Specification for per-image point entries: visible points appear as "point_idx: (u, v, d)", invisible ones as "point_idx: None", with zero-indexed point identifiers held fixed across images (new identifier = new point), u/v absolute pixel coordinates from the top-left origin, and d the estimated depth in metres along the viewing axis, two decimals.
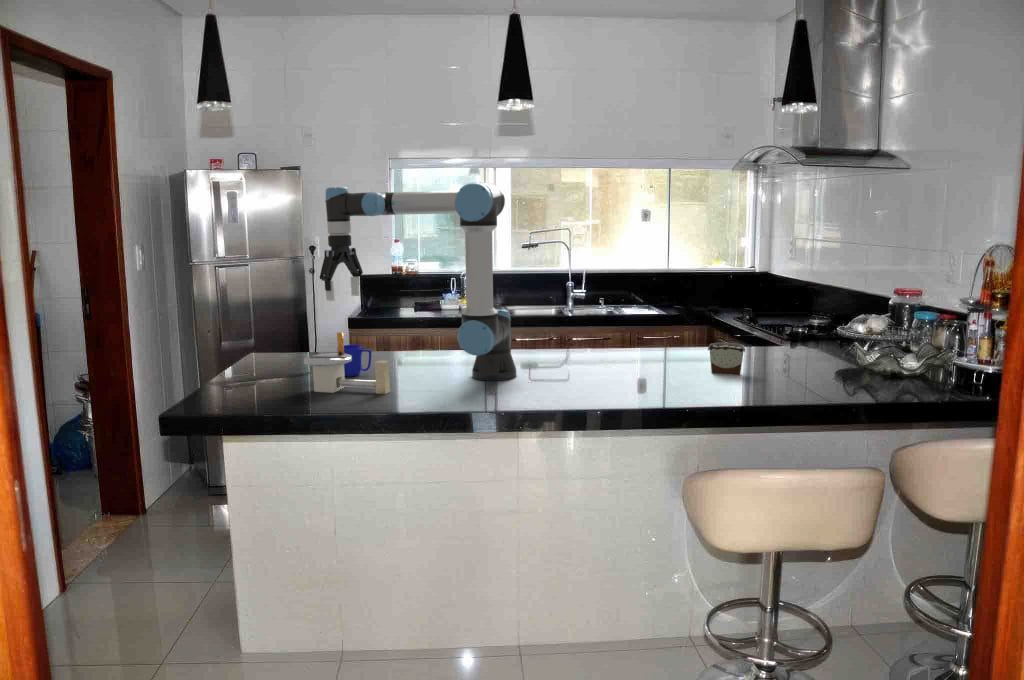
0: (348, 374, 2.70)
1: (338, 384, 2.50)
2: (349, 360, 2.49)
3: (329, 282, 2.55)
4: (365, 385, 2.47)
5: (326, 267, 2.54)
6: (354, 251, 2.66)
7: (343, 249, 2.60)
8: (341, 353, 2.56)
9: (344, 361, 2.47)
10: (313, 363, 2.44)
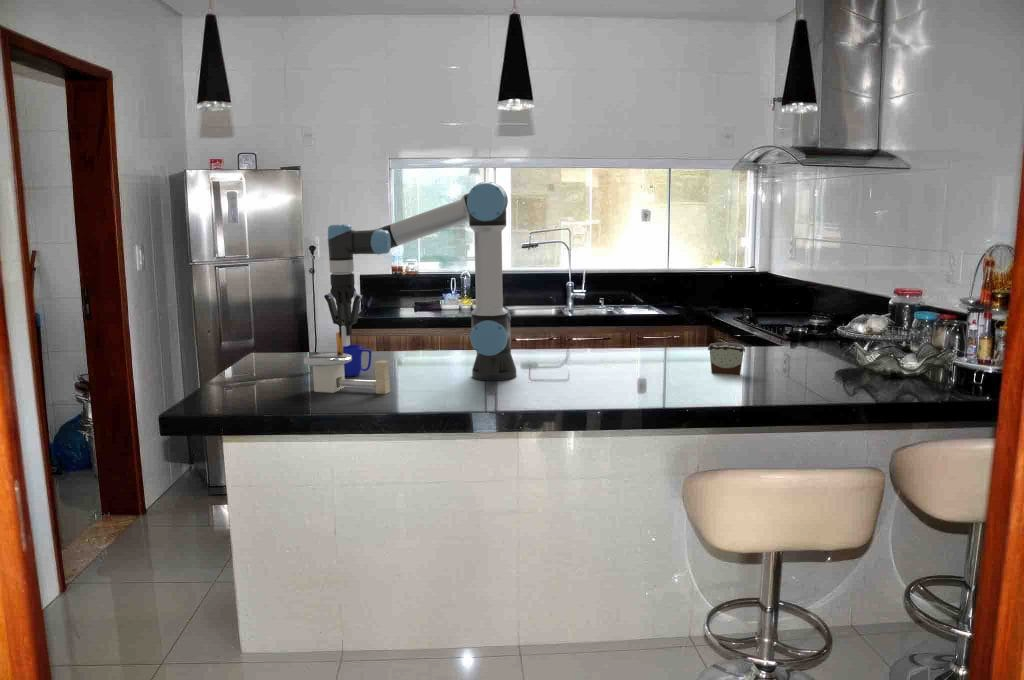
0: (348, 374, 2.70)
1: (338, 384, 2.50)
2: (349, 360, 2.50)
3: (340, 327, 2.53)
4: (365, 385, 2.47)
5: None
6: (356, 298, 2.49)
7: (342, 289, 2.50)
8: (340, 353, 2.56)
9: (345, 361, 2.47)
10: (314, 363, 2.44)
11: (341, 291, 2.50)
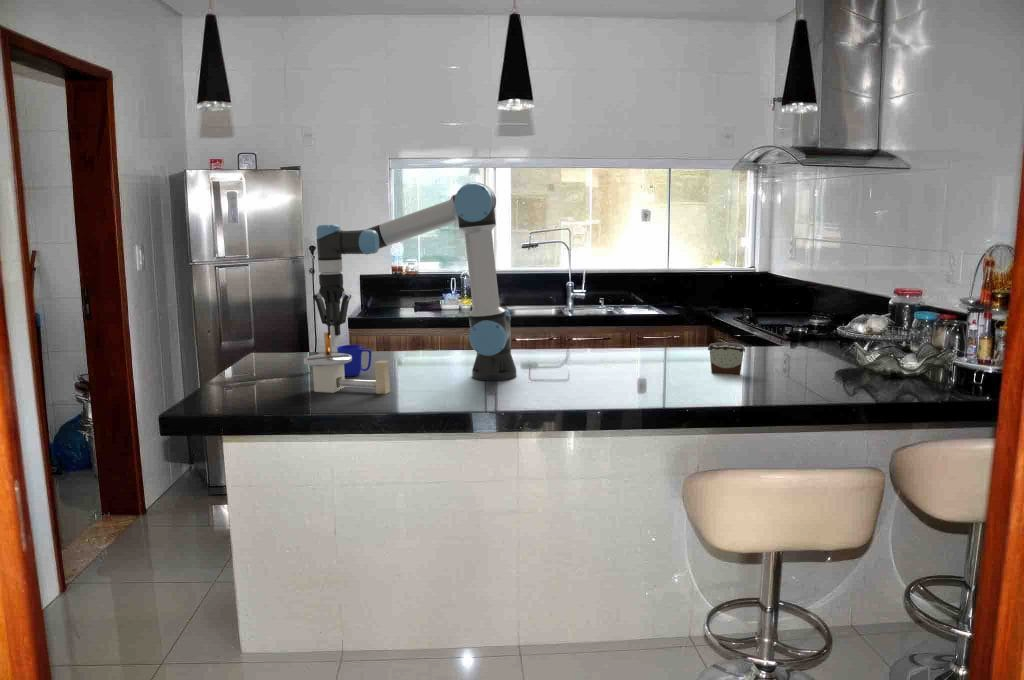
0: (348, 374, 2.70)
1: (338, 384, 2.50)
2: None
3: (329, 327, 2.54)
4: (365, 385, 2.47)
5: None
6: (344, 298, 2.50)
7: (330, 288, 2.51)
8: (330, 352, 2.57)
9: (351, 358, 2.52)
10: (329, 363, 2.44)
11: (330, 291, 2.51)
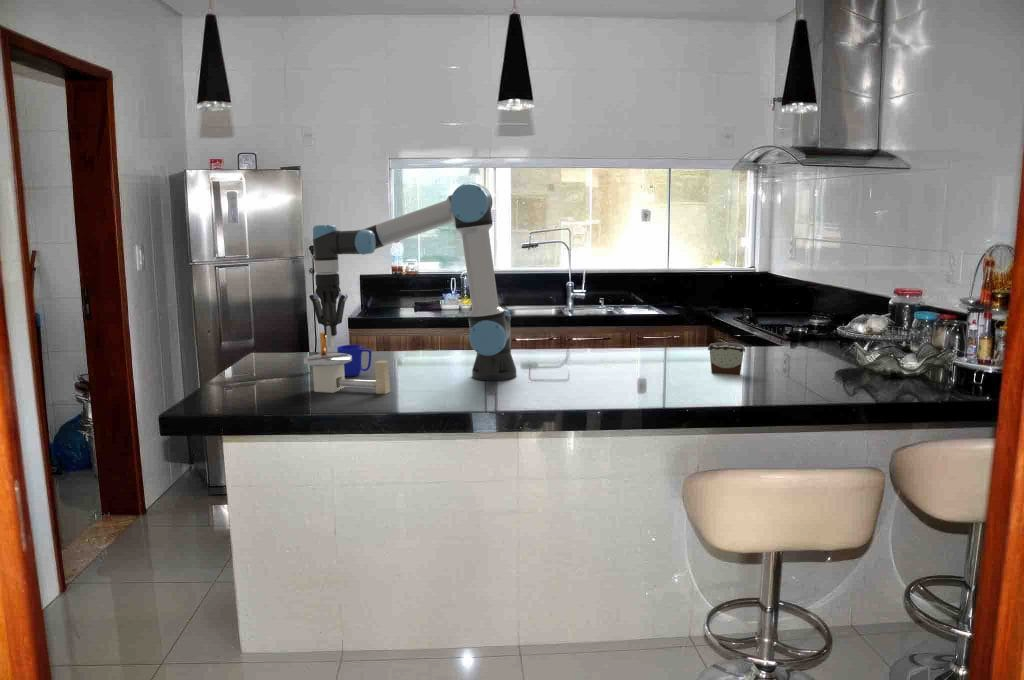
0: (348, 374, 2.70)
1: (338, 384, 2.50)
2: None
3: (325, 327, 2.54)
4: (365, 385, 2.47)
5: None
6: (341, 298, 2.50)
7: (326, 289, 2.51)
8: (326, 353, 2.56)
9: (351, 357, 2.53)
10: (334, 362, 2.44)
11: (326, 291, 2.51)
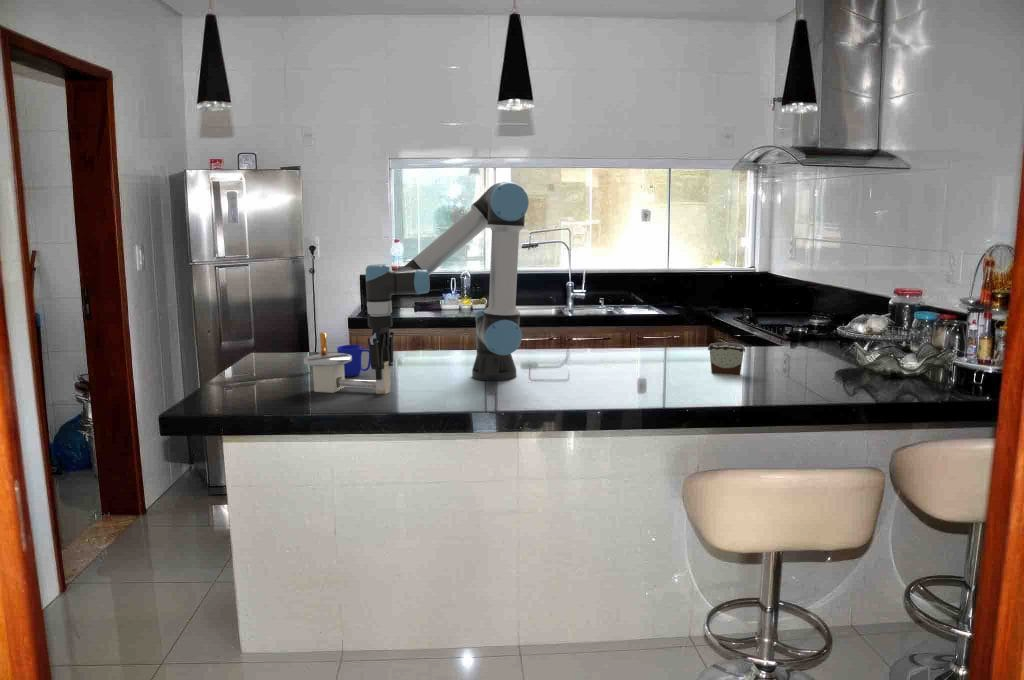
0: (348, 374, 2.70)
1: (338, 384, 2.50)
2: None
3: (380, 371, 2.43)
4: (365, 385, 2.47)
5: (375, 357, 2.39)
6: (392, 335, 2.49)
7: (384, 330, 2.43)
8: (326, 353, 2.56)
9: (351, 357, 2.53)
10: (334, 362, 2.44)
11: (384, 332, 2.43)
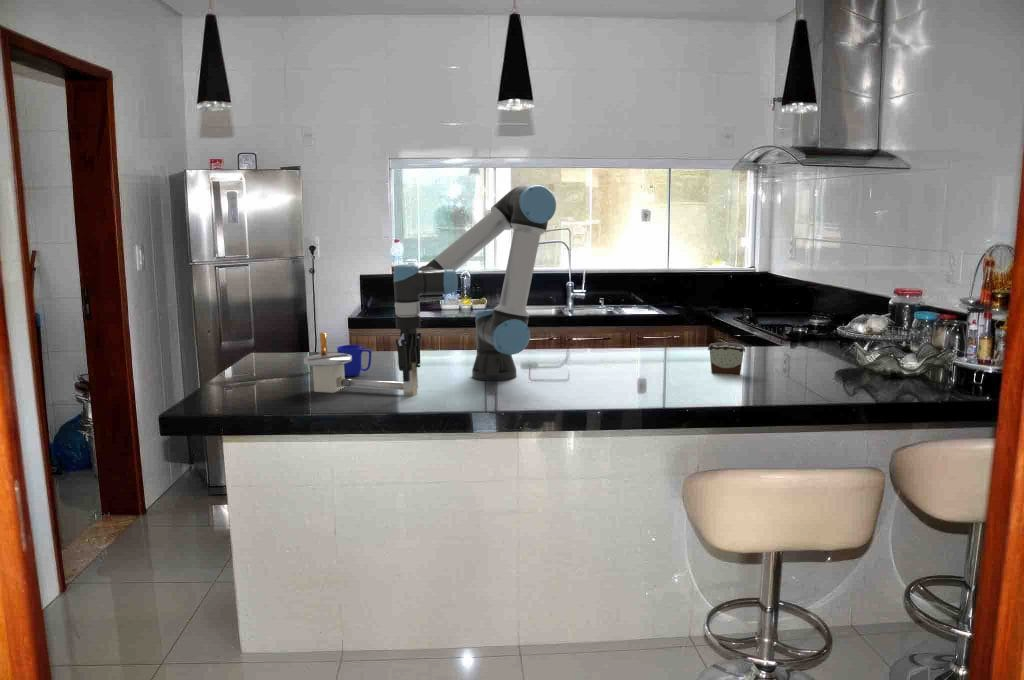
0: (348, 374, 2.70)
1: (364, 386, 2.47)
2: None
3: (408, 372, 2.40)
4: (392, 387, 2.44)
5: (403, 358, 2.37)
6: (419, 336, 2.46)
7: (412, 331, 2.41)
8: (326, 353, 2.56)
9: (351, 357, 2.53)
10: (334, 362, 2.44)
11: (411, 333, 2.41)
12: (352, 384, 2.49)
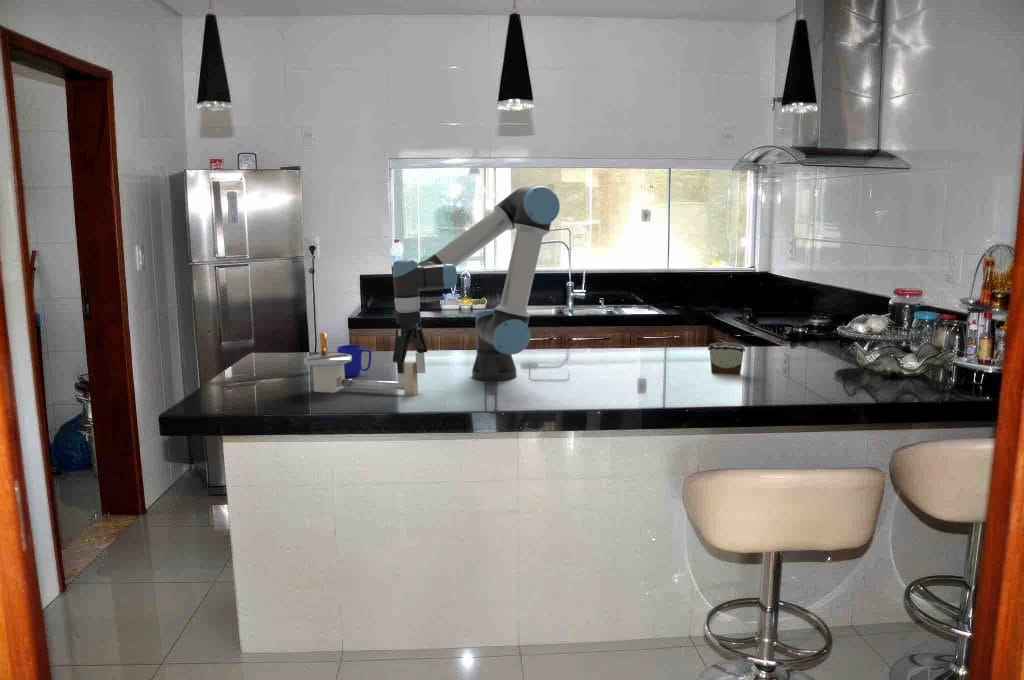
0: (348, 374, 2.70)
1: (365, 386, 2.47)
2: None
3: (402, 364, 2.35)
4: (393, 387, 2.44)
5: (399, 348, 2.33)
6: (420, 326, 2.46)
7: (412, 326, 2.40)
8: (326, 353, 2.56)
9: (351, 357, 2.53)
10: (334, 362, 2.44)
11: (412, 329, 2.40)
12: (353, 384, 2.49)
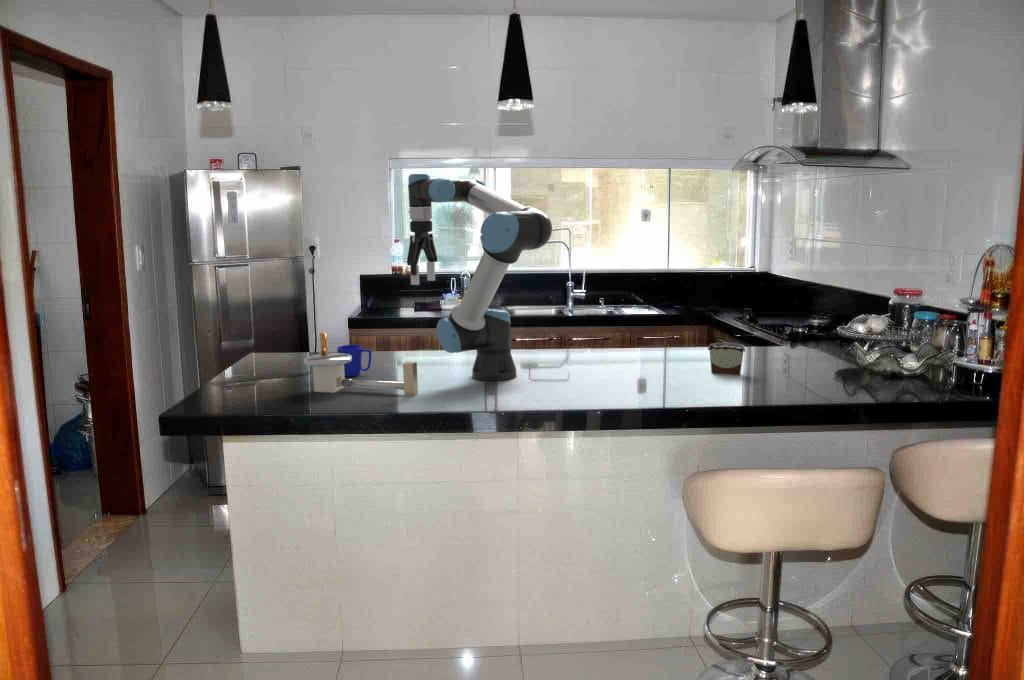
0: (348, 374, 2.70)
1: (365, 386, 2.47)
2: None
3: (415, 266, 2.61)
4: (393, 387, 2.44)
5: (413, 252, 2.59)
6: (431, 237, 2.72)
7: (424, 234, 2.66)
8: (326, 353, 2.56)
9: (351, 357, 2.53)
10: (334, 362, 2.44)
11: (424, 237, 2.66)
12: (353, 384, 2.49)
